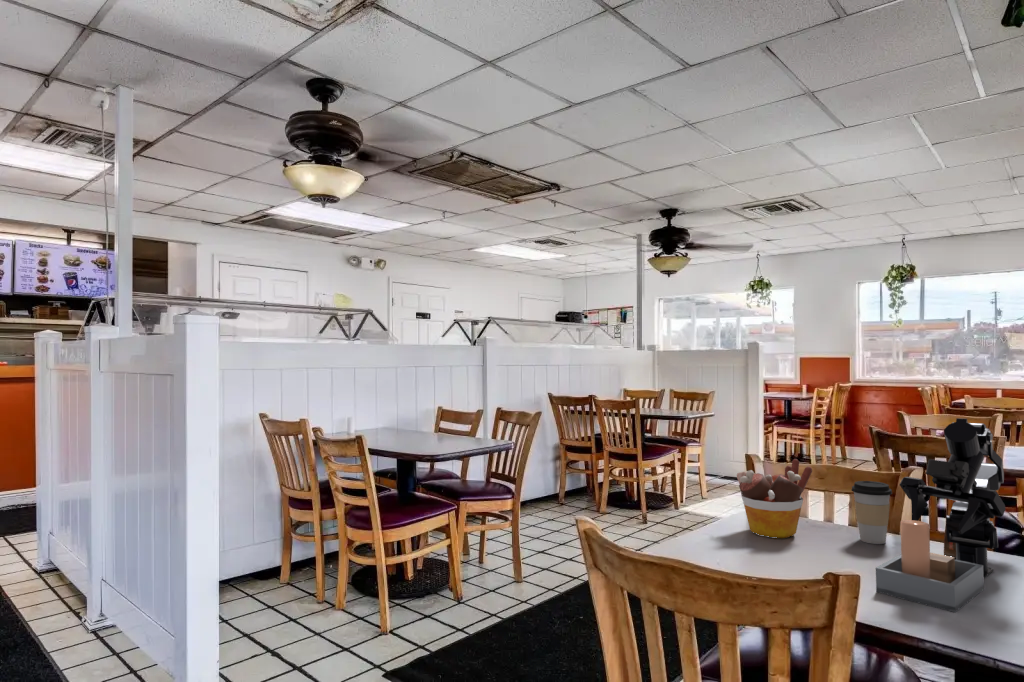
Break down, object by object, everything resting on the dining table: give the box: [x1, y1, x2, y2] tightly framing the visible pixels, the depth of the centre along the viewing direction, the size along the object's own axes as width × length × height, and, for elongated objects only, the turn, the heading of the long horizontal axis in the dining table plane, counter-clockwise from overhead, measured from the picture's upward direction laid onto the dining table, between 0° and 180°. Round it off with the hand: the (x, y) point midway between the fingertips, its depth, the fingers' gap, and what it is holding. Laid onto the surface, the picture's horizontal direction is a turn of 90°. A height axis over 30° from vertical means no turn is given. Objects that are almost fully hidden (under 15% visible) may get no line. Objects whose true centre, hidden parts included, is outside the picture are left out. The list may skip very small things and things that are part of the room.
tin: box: [943, 525, 956, 558], centre depth 156 cm, size 15×3×8 cm, turn 141°
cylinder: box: [900, 519, 931, 579], centre depth 130 cm, size 5×5×14 cm
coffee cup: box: [851, 480, 893, 545], centre depth 167 cm, size 9×9×15 cm
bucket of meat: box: [736, 458, 813, 539], centre depth 175 cm, size 20×16×20 cm
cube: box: [930, 551, 956, 583], centre depth 135 cm, size 5×5×5 cm
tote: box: [875, 553, 985, 613], centre depth 132 cm, size 18×14×5 cm
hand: (935, 527), depth 134 cm, fingers open, 9 cm apart
